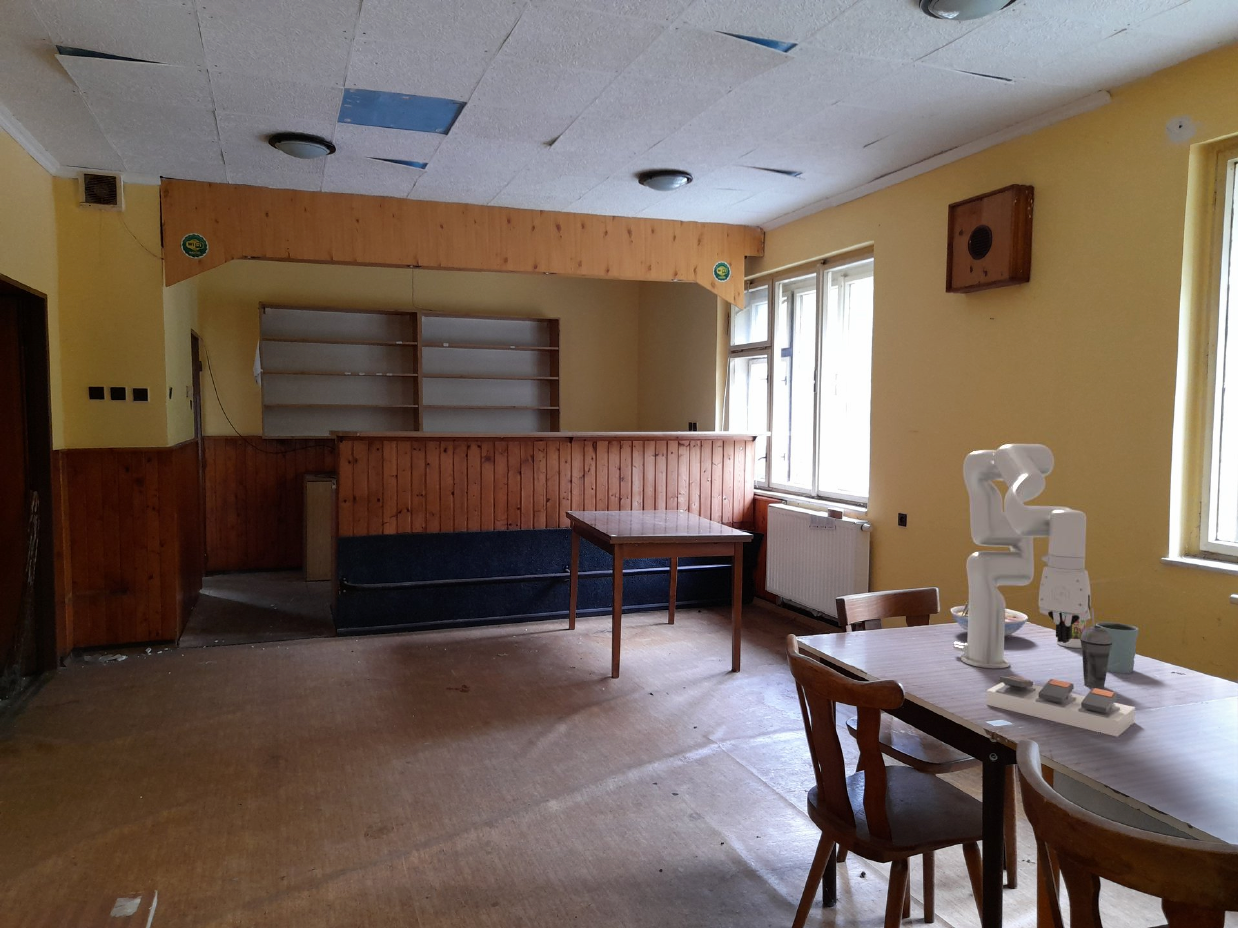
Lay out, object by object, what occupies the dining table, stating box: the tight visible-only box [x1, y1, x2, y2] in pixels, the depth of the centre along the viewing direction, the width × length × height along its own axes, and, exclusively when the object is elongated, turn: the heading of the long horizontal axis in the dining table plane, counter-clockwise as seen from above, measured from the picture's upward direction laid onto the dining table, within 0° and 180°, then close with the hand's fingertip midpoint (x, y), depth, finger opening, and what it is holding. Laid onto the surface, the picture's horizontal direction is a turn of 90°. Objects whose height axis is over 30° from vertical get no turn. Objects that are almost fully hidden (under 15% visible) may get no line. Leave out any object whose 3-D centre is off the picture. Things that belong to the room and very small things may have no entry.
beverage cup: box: [1080, 608, 1112, 689], centre depth 218 cm, size 7×7×20 cm
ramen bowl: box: [950, 600, 1029, 637], centre depth 269 cm, size 25×23×8 cm
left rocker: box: [998, 676, 1034, 690], centre depth 201 cm, size 5×8×2 cm, turn 135°
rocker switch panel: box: [985, 682, 1136, 738], centre depth 196 cm, size 28×13×4 cm, turn 45°
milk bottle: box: [1056, 613, 1087, 649], centre depth 259 cm, size 8×8×20 cm
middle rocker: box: [1038, 678, 1075, 703], centre depth 195 cm, size 5×8×2 cm, turn 135°
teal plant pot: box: [1095, 621, 1139, 674], centre depth 234 cm, size 10×10×12 cm
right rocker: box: [1081, 688, 1118, 713], centre depth 188 cm, size 5×8×2 cm, turn 135°
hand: (1063, 641), depth 196 cm, fingers closed
